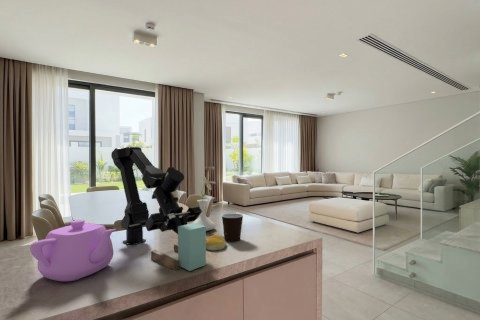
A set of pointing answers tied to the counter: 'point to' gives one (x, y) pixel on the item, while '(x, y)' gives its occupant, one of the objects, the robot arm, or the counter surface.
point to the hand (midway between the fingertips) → (185, 239)
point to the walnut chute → (167, 258)
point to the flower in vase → (202, 218)
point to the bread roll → (215, 242)
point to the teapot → (73, 251)
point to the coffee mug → (232, 226)
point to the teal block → (192, 246)
